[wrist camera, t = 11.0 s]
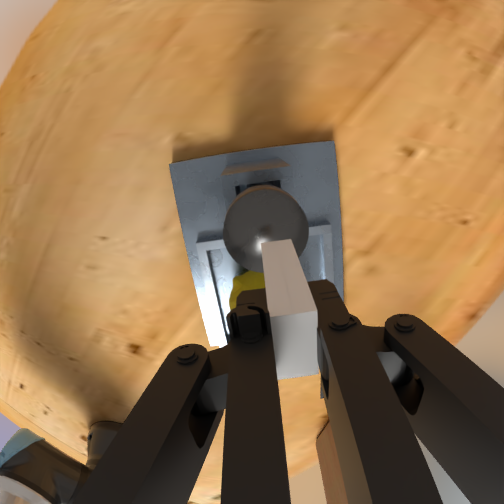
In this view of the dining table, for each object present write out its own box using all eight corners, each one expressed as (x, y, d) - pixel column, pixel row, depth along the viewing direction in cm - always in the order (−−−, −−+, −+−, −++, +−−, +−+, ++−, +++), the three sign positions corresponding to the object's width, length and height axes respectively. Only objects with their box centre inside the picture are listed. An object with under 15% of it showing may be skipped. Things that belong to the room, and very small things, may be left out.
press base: (211, 339, 43) (203, 393, 33) (171, 162, 34) (143, 175, 24) (340, 321, 42) (362, 371, 32) (330, 140, 33) (363, 144, 24)
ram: (235, 227, 29) (230, 278, 19) (226, 174, 27) (216, 197, 18) (289, 220, 29) (312, 266, 19) (283, 166, 27) (304, 185, 17)
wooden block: (380, 411, 50) (413, 497, 32) (357, 441, 54) (380, 521, 35) (333, 410, 49) (358, 506, 30) (313, 441, 53) (328, 528, 34)
